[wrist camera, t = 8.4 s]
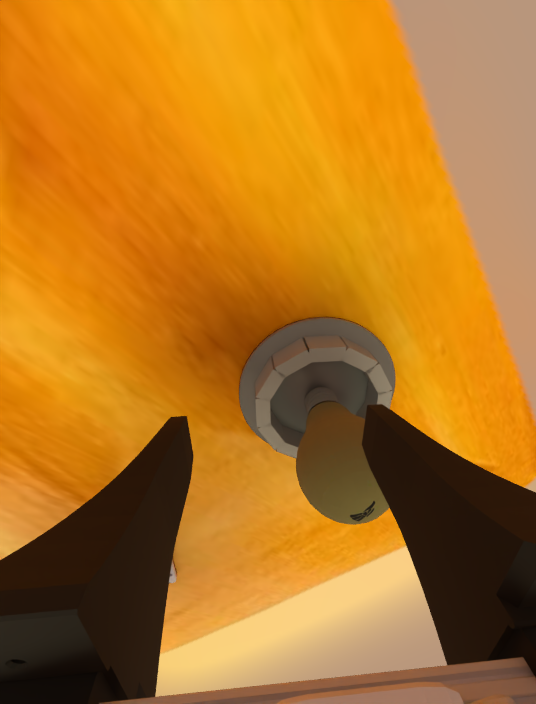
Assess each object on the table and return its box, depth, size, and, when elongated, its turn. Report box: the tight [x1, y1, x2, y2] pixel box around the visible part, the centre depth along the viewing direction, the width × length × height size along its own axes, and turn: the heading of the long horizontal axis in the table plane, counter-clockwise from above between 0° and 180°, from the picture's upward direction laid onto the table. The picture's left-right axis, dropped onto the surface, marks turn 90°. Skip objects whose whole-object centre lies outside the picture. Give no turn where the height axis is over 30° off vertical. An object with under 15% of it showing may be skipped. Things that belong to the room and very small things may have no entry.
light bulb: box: [296, 387, 389, 524], centre depth 19 cm, size 6×6×10 cm
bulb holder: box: [239, 317, 395, 458], centre depth 23 cm, size 12×12×2 cm
